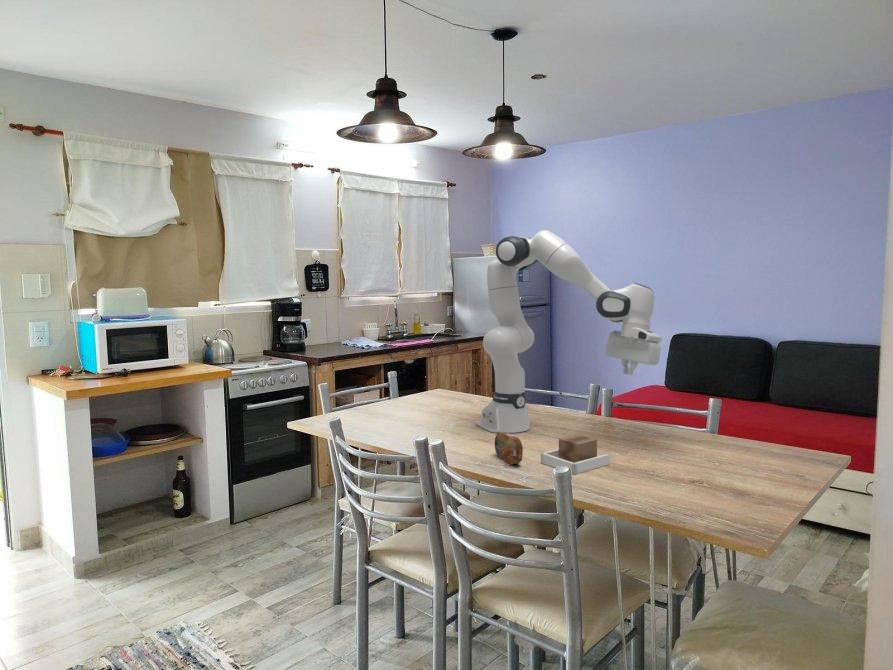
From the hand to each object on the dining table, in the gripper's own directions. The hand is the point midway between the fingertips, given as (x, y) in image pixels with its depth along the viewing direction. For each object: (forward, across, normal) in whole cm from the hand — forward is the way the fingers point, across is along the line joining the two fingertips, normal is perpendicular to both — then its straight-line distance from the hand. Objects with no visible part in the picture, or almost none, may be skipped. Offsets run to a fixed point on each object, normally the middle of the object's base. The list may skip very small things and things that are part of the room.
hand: (627, 374), depth 199 cm
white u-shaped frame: (+28, +6, -23) cm, 37 cm away
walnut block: (+28, +6, -22) cm, 37 cm away
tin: (+32, -8, -37) cm, 50 cm away
